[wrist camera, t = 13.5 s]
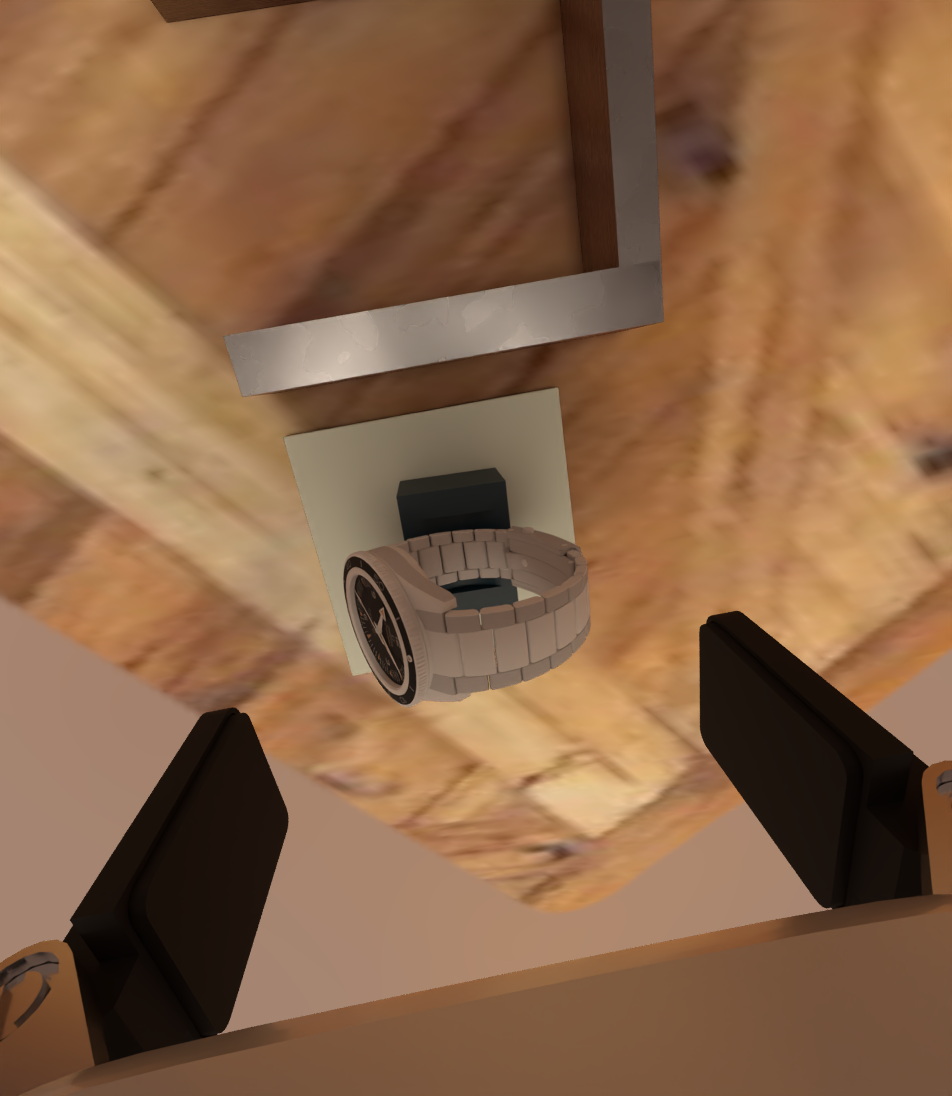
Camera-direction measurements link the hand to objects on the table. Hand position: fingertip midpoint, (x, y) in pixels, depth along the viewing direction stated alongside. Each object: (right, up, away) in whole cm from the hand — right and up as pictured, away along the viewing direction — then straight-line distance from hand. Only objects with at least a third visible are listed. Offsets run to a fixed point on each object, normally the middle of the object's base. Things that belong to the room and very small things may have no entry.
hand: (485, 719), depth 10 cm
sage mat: (-2, +4, +14) cm, 15 cm away
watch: (-1, +4, +13) cm, 14 cm away
